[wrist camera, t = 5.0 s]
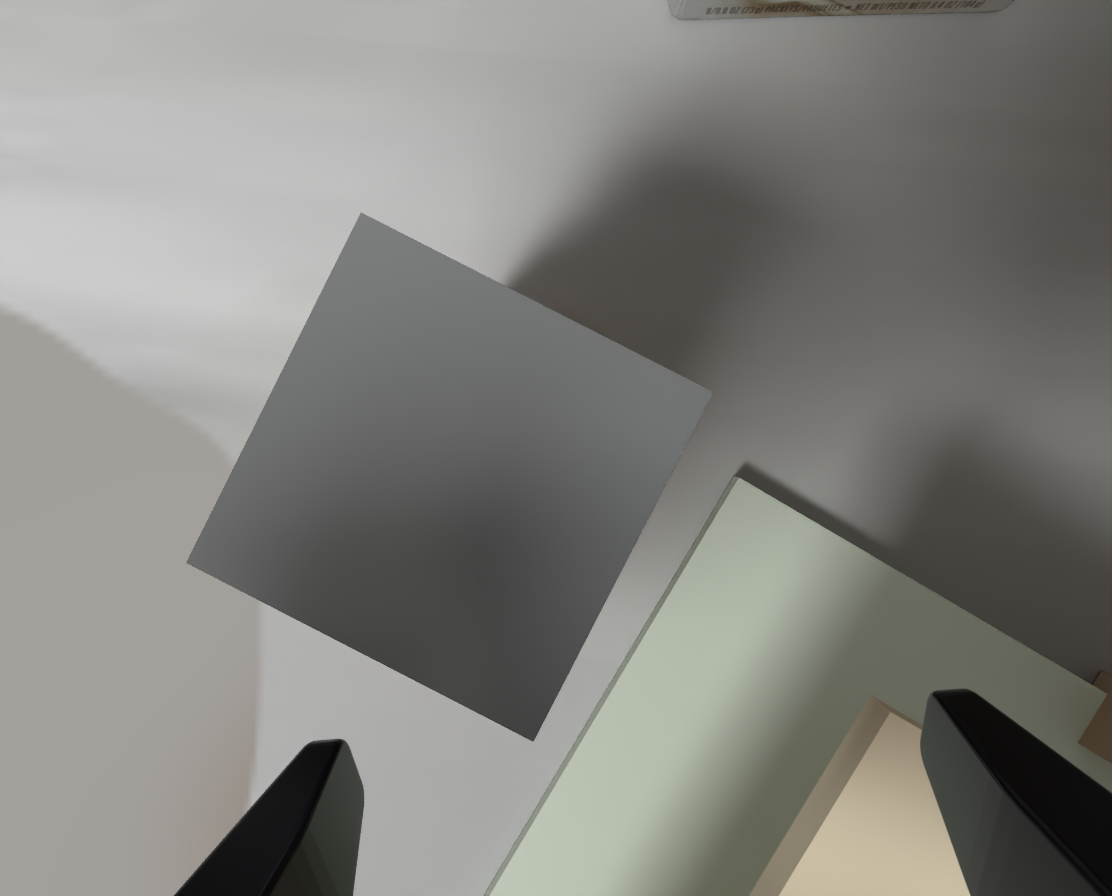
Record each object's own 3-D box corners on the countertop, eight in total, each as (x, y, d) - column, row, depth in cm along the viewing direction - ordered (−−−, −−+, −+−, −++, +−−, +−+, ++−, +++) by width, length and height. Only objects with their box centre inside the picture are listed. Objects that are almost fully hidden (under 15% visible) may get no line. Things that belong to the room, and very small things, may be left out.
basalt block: (549, 612, 17) (533, 741, 10) (347, 508, 17) (186, 562, 10) (652, 410, 16) (714, 391, 10) (449, 306, 17) (360, 212, 10)
